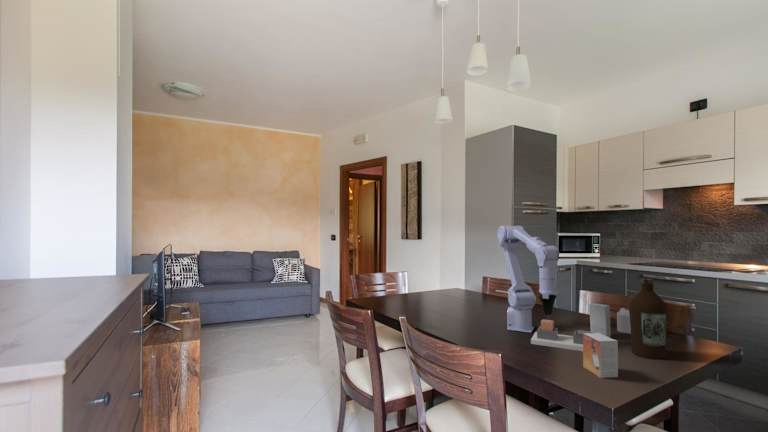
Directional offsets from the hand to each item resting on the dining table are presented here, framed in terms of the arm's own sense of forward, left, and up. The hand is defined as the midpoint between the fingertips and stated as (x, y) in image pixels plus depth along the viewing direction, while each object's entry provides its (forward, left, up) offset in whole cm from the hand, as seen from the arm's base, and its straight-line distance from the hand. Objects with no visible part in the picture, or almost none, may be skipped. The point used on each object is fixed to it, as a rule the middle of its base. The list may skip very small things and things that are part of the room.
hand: (548, 314), depth 140 cm
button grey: (+12, 0, -8) cm, 14 cm away
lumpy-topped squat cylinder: (+29, +32, -10) cm, 44 cm away
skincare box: (+17, +17, -10) cm, 26 cm away
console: (+6, 0, -10) cm, 11 cm away
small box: (+17, -24, -10) cm, 31 cm away
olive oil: (+31, +1, -10) cm, 32 cm away
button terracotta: (0, 0, -6) cm, 6 cm away
